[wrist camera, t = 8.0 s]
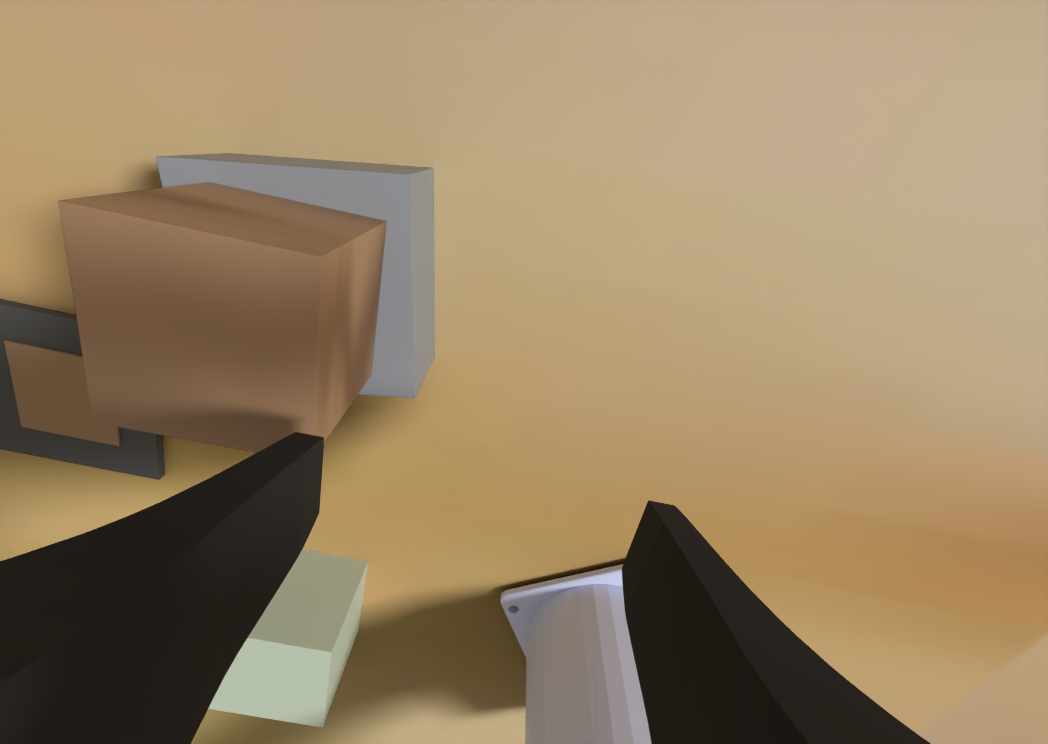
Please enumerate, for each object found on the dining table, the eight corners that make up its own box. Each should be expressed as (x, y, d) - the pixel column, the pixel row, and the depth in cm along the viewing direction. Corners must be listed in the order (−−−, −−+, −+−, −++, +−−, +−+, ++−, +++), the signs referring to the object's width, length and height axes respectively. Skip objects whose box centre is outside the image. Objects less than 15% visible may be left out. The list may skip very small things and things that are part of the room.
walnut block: (371, 375, 17) (310, 462, 12) (215, 344, 16) (92, 422, 12) (386, 221, 15) (320, 256, 10) (209, 182, 14) (58, 200, 10)
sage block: (358, 629, 27) (322, 727, 23) (263, 612, 27) (207, 708, 22) (368, 560, 25) (331, 652, 21) (266, 540, 25) (204, 630, 20)
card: (164, 474, 23) (157, 480, 23) (2, 442, 22) (-10, 448, 22) (155, 332, 20) (146, 336, 20) (-32, 292, 20) (-46, 295, 19)
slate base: (436, 352, 21) (414, 398, 17) (263, 340, 21) (205, 383, 17) (434, 167, 18) (409, 174, 14) (234, 153, 18) (155, 156, 14)
